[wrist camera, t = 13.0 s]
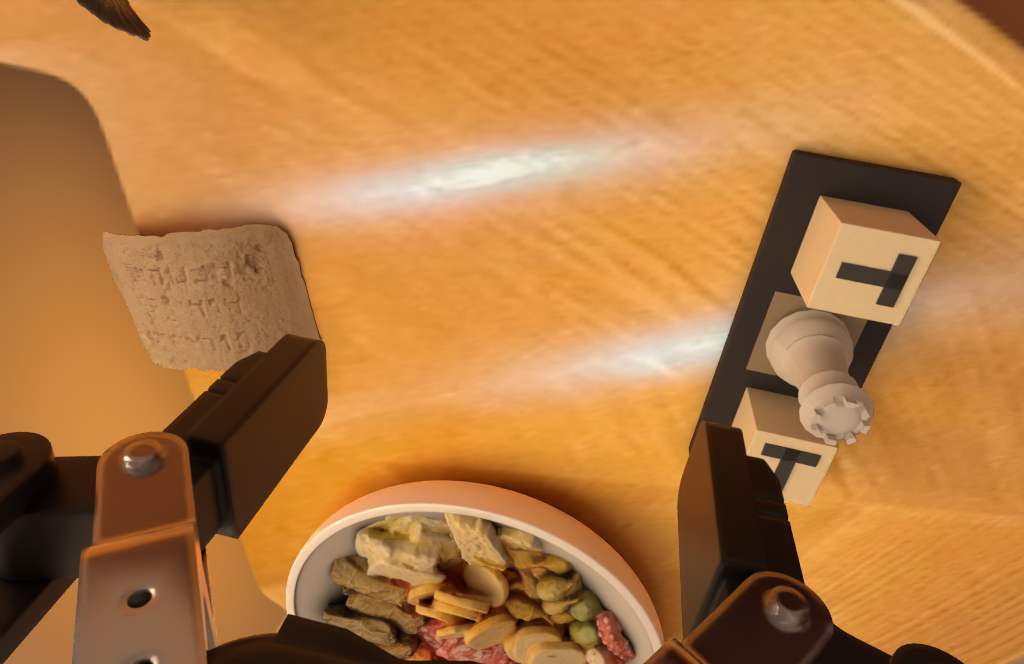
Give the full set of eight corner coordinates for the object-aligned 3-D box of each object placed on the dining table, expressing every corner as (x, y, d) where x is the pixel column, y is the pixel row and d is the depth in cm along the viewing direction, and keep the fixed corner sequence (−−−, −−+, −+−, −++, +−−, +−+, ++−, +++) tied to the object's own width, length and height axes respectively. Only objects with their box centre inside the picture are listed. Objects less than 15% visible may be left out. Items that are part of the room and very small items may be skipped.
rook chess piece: (749, 356, 38) (770, 439, 31) (791, 293, 36) (824, 368, 29) (819, 385, 38) (856, 475, 31) (865, 324, 36) (916, 407, 29)
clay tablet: (151, 356, 48) (125, 375, 46) (95, 227, 44) (63, 240, 41) (326, 353, 45) (308, 373, 43) (285, 213, 41) (263, 228, 38)
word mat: (792, 149, 33) (796, 154, 32) (954, 177, 32) (963, 183, 31) (688, 448, 43) (689, 458, 42) (810, 475, 42) (814, 487, 41)
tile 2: (819, 195, 33) (841, 223, 29) (908, 211, 33) (943, 242, 29) (790, 272, 35) (807, 308, 31) (873, 288, 35) (900, 327, 31)
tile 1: (746, 386, 39) (756, 431, 35) (820, 402, 38) (839, 449, 35) (724, 442, 41) (732, 490, 37) (794, 458, 41) (809, 508, 37)
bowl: (258, 582, 59) (206, 660, 52) (437, 385, 45) (399, 458, 38) (512, 748, 64) (495, 839, 57) (748, 619, 49) (763, 720, 43)
